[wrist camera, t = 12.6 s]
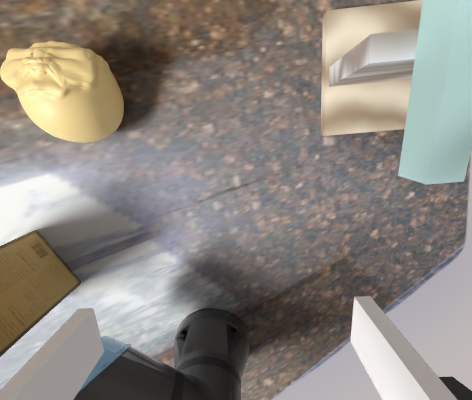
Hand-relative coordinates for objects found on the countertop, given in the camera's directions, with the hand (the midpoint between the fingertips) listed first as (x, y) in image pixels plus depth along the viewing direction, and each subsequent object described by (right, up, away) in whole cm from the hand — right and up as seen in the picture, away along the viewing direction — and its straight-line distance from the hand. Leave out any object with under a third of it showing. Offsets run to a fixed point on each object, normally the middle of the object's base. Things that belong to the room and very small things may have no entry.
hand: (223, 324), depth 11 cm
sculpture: (-21, +22, +24) cm, 38 cm away
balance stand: (+20, +25, +22) cm, 38 cm away
